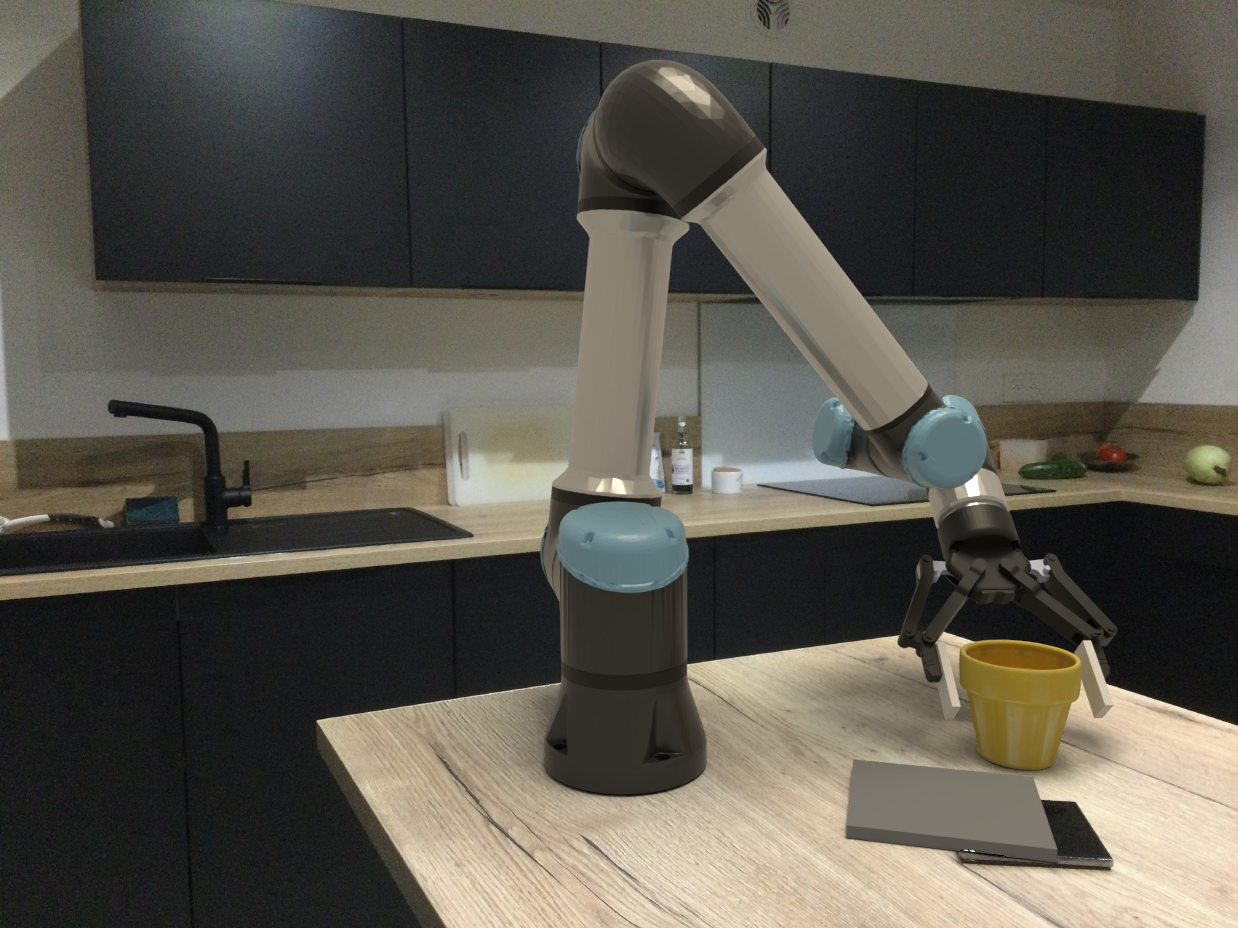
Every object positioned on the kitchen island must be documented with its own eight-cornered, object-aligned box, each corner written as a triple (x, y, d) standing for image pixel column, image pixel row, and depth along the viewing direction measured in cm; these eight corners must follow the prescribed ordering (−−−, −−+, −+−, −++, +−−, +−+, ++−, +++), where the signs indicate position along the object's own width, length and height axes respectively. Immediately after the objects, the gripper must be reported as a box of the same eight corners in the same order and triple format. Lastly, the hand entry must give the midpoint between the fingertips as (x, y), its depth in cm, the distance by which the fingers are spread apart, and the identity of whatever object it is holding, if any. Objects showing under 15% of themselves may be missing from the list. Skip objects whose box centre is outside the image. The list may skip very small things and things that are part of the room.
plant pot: (1018, 728, 96) (1021, 633, 95) (1104, 768, 87) (1108, 662, 86) (934, 744, 92) (936, 645, 92) (1014, 787, 83) (1017, 676, 82)
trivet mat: (846, 837, 74) (846, 825, 74) (853, 769, 87) (853, 759, 87) (1057, 862, 70) (1057, 849, 70) (1032, 787, 83) (1032, 776, 83)
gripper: (1080, 541, 103) (1150, 728, 90) (847, 543, 104) (881, 730, 90) (1106, 498, 97) (1185, 692, 84) (859, 501, 98) (898, 695, 84)
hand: (1028, 712), depth 87 cm, fingers open, 13 cm apart
